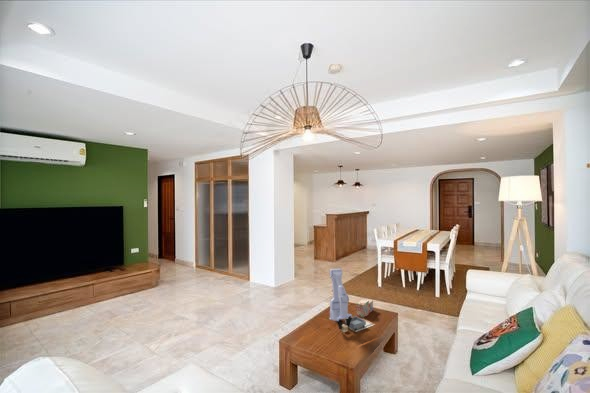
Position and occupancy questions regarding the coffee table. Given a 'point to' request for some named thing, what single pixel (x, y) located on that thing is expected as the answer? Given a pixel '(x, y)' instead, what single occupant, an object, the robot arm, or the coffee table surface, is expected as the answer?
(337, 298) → the robot arm
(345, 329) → the maple block
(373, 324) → the track board
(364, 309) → the multicoloured piece
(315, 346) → the coffee table surface
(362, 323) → the grey storage bin
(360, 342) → the coffee table surface
